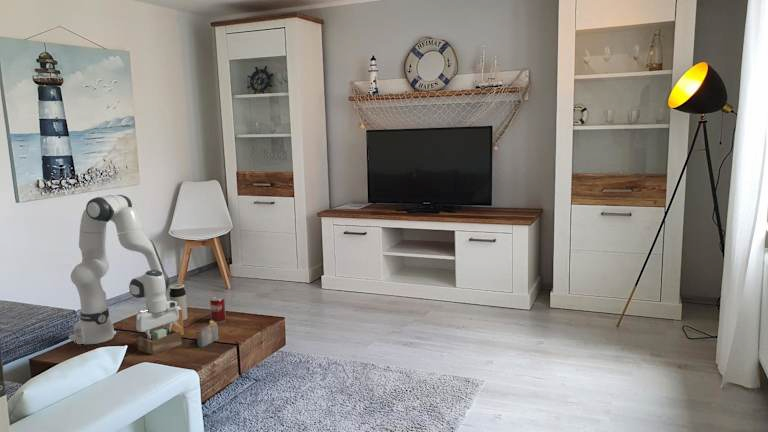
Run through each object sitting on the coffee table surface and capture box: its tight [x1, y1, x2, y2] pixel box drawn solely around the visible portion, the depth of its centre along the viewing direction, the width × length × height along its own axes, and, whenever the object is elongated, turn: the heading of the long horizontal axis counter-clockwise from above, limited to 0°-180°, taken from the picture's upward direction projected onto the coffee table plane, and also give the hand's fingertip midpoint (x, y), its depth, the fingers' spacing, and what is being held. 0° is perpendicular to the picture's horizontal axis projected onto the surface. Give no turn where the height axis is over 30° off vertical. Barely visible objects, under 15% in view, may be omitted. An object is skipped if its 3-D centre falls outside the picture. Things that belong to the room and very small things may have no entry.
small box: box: [162, 306, 185, 336], centre depth 283 cm, size 8×6×13 cm
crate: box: [136, 328, 183, 356], centre depth 268 cm, size 11×15×6 cm
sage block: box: [151, 327, 167, 341], centre depth 268 cm, size 4×4×7 cm
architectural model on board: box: [196, 318, 219, 348], centre depth 272 cm, size 11×3×10 cm, turn 157°
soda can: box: [209, 296, 227, 324], centre depth 302 cm, size 7×7×12 cm
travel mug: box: [168, 283, 188, 322], centre depth 305 cm, size 8×8×18 cm
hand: (159, 335), depth 268 cm, fingers open, 8 cm apart
